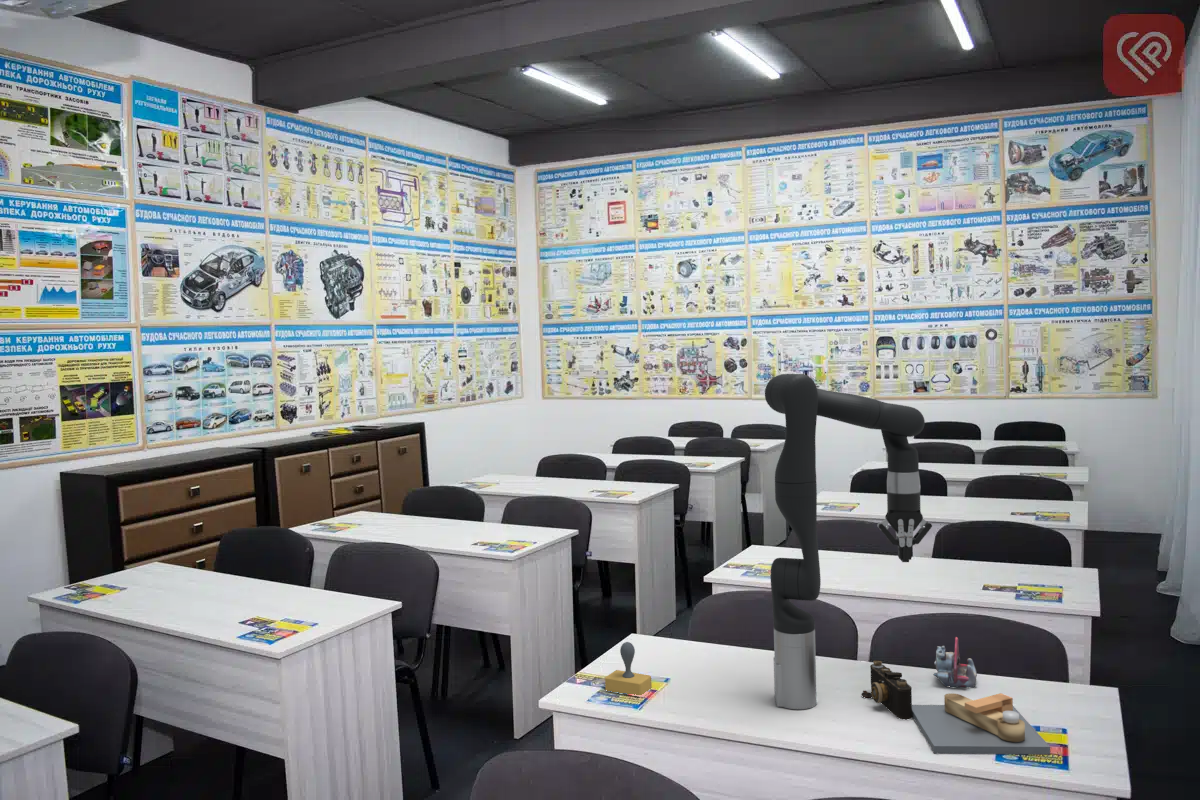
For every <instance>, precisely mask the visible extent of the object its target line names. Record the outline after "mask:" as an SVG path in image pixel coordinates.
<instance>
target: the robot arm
mask: <svg viewBox="0 0 1200 800" xmlns="http://www.w3.org/2000/svg"><path fill="white" fill-rule="evenodd" d="M764 399H765V401H766V403H767V405H768V406H769V407H770V408H771V409H772V410H773V411H775V412H777V413H778V414H782V415H784V416H785V417H784V418H785V437H784V438H785V439H784V444H783V447H782V450H781V453H780V455H779V458H778V461H777V463H776V468H775V471H774V494H775V496H774V497H775V503H776V506H777V508H778V510H779V512H780V513H781V515H782V517H783V518H784V520H786V522H787V524H788V526H790V528H791V529H792V532H793V533H794V534H795V536H796V538H797V540H798V543H799V546H800V548H801V549H800V550H801V554H802V557H803V558H793V557H791V558H790V557H777V558H774V560H773V561H772V563H771V567H770V590H771V592H770V593H771V601H772V602H771V603H772V618H773V619H772V620H773V645H774V646H773V648H774V650H773V651H774V654H773V655H774V657H773V682H774V683H773V688H774V689H773V690H774V700H775V705H776V707H779V708H785V709H790V710H806V709H810V708H811V709H812V708H813V707H816V705H817V703H818V702H817V701H818V700H817V696H818V695H817V693H818V692H817V665H816V663H817V662H816V660H817V659H816V656H817V655H816V654H817V653H816V623H815V618H814V615H812V614H811V612H810V613H809V612H808V611H805V610H803V609H801V608H799V607H798V606H797V605H795V604H794V603H792V601H791V600H795V601H811V602H812V601H815V600H817V599H818V597H819V595H820V592H821V583H822V582H821V570H820V569H821V568H820V555H819V541H818V531H817V529H818V528H817V525H818V524H817V523H818V522H817V521H818V520H817V519H818V518H817V514H818V510H817V508H818V507H817V504H818V503H817V502H818V501H817V500H818V498H817V497H818V494H817V493H818V490H817V489H818V488H817V486H818V485H817V470H816V469H817V467H816V465H817V464H816V460H817V459H816V458H817V457H816V456H817V455H816V452H817V451H816V449H817V447H816V446H817V445H816V433H817V431H816V430H817V420H818V417H822V418H823V417H824V418H827V419H831V420H834V421H838V422H841V423H846V424H849V425H853V426H856V427H857V426H858V427H861V428H864V429H865V428H866V429H870V430H879V431H880V432H881V436H882V439H883V444H884V447H885V450H886V454H887V477H886V499H887V500H886V501H887V502H886V504H887V506H886V507H887V511H886V514H885V518H884V519H883V520H882V521H879V522H877V523H876V526H877V528H878V529H879V530H880V531H881V532H882V534H883V535H884V536H885V538H887V540H888V541H889V542H890V543H891V544H892V545H896V546H897V550H898V551H897V555H898V556H897V557H898V559H899V560H900V561H901V563H909V562H910V560H912V553H913V552H912V549H913V548H912V547H913V546H914V545H915V546H916V545H919V544H920V543H921V542H922V540H923V539H924V538H925V536H926V535H927V534H928V533H929V532H930V530H931V529H932V527H933V524H932V523H931V522H929V521H927V520H925V519H924V516H923V514H922V512H921V478H920V472H919V471H920V470H919V468H920V467H919V466H920V465H919V462H920V461H919V452H918V449H917V448H915V446H912V445H911V444H910V443H909V440H908V438H909V437H910V438H912V437H914V436H915V437H916V436H917V435H919V434H921V432H922V431H923V430H924V427H925V423H926V421H925V417H924V415H923V414H922V412H921V411H920V410H919V409H917V408H915V407H912V406H910V405H903V404H896V403H890V402H889V403H888V402H884V401H881V400H878V399H877V398H876V399H874V398H870V397H868V396H863V395H858V394H854V393H846V392H840V391H839V392H838V391H832V390H827V389H822V388H818V387H817V384H816V383H815V381H814V379H813V378H811V377H810V376H809V375H807V374H803V373H782V374H778V375H776V376H773V377H772V378H771V379H770V380H769V381H768V382H767V383H766V386H765V388H764ZM888 524H889V525H888ZM890 527H891V528H892V529H893V530H894V531H895V535H896V538H895V537H894V536H893V535H892V533H890V531H889V528H890ZM918 527H919V529H918V530H917V532H916V533H915V534H914V531H916V529H917V528H918Z"/></svg>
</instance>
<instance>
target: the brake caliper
mask: <svg viewBox="0 0 1200 800" xmlns="http://www.w3.org/2000/svg"><path fill="white" fill-rule="evenodd" d="M959 645H960V644H959V638H958V637H957V636H955V637H954V652H953V651H949V652H948V651H946V647H945V645H942V646H938V645H937V646H936V651H935V661H934V662H933V663H934V666H935V669H936V672H935V673H933V674H932V675H933V676H934V677H935V678H936V679H938V680H939V681H940V682H941V683H942V684H943V685H944V686H945V687H946V686H950V687H957V688H960V687H974V686H975V685H976V683H977V676H978V674H977V673H978V672H977V669H976V666H975V663H974V661H973V659H972V658H967V659H966V664H965V663H960V662H961V657H960V651H959V650H960V649H959V648H960V646H959ZM950 687H949V688H950Z"/></svg>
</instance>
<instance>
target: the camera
mask: <svg viewBox="0 0 1200 800" xmlns="http://www.w3.org/2000/svg"><path fill="white" fill-rule="evenodd" d="M912 688H913V687H912V686H911V685H910V684H908V683H907V679H905V678H903V673H902V672H897V671H892V670H891V668H890V667H887V666H886V665H884V664H883V661H882V660H878V659H874V660H873V663H872V664H870V692H868V691H867V690H863V691H862V692H861V694H860V695H861V697H862V696H863V697H865V698H864V699H866V698H870V699H872V700H873V701H874V702H875V703H876V704H881V703H882V704H881V705H882V706H883V707H885V708H886V707H887V708H886V709H887V710H888V709H889V710H890V711H891V712H890V711H889V710H888V711H889V712H890V713H892V715H894V717H896V718H897V717H898V718H897V719H899V718H900V719H899V720H903V719H905V720H907V719H909V720H911V719H913V717H912V705H913V702H912V701H913V698H912ZM863 697H862V698H863ZM871 697H872V698H871ZM905 720H904V721H905ZM907 721H908V720H907Z"/></svg>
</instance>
